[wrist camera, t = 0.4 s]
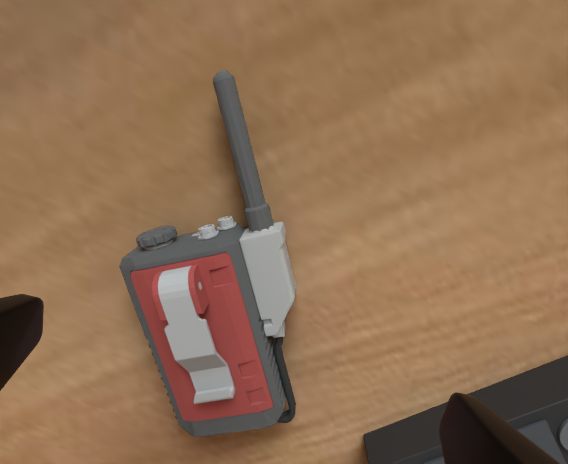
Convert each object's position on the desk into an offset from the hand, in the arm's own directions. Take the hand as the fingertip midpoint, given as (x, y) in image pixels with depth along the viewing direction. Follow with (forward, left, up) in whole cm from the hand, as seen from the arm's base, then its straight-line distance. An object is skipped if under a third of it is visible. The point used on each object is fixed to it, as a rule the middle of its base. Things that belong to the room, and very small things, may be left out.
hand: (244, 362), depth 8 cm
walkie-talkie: (-4, +3, -14) cm, 15 cm away
